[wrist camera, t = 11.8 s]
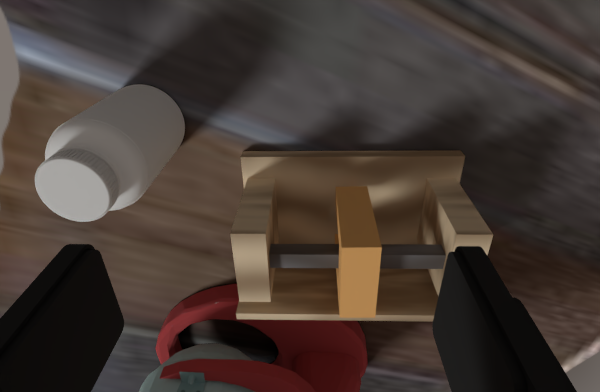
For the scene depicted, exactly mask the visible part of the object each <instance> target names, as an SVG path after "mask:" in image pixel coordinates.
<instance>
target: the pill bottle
mask: <svg viewBox="0 0 600 392" xmlns="http://www.w3.org/2000/svg"><path fill="white" fill-rule="evenodd" d="M184 134H185V122H184V118H183V115H182V112H181V110H180V108H179V107H178V105H177V104H176V103H175V101H174V100H173V99H172V98H171V97H170V96H169V95H167V94H166V93H165V92H163V91H161V90H160V89H158V88H155V87H152V86H149V85H143V84H136V85H130V86H126V87H124V88H121V89H119V90H118V91H116V92H114V93H113V94H111V95H109V96H108V97H106V98H104V99H103V100H101V101H99V102H98V103H96V104H95V105H93V106H91V107H90V108H88V109H86V110H85V111H83V112H81V113H80V114H78V115H76V116H75V117H73V118H72V119H70V120H68V121H67V122H65V123H63V124H62V125H61V126H59V127H58V128H57V129H56V130H55V131H54V132H53V134H52V135H51V137H50V139H49V141H48V143H47V146H46V151H45V161H44V162H43V163H42V164H41V165H40V166H39V167H38V169H37V172H36V175H35V186H36V190H37V192H38V194H39V196H40V198H41V199H42V201H43V202H44V203H45V204H46V206H48V207H49V208H50V209H51V210H52V211H53V212H55V213H56V214H58V215H60V216H62V217H64V218H67V219H69V220H73V221H79V222H87V221H93V220H96V219H99V218H101V217H103V216H104V215H105V214H106V213H107V212H108V211H111V210H118V209H122V208H124V207H127V206H129V205H131V204H133V203H134V202H136V201H137V200H138V199H139V198H140V197H141V196H142V195H143V194H144V193H145V191H146V190H147V189H148V187H149V186H150V185H151V184H152V182H153V181H154V180H155V178H156V177H157V176H158V174H159V173H160V172H161V170H162V169H163V168H164V166H165V165H166V164H167V163H168V161H169V160H170V159H171V157H172V156H173V155H174V153H175V152H176V151H177V149H178V148H179V147H180V145H181V143H182V141H183V138H184Z"/></svg>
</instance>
